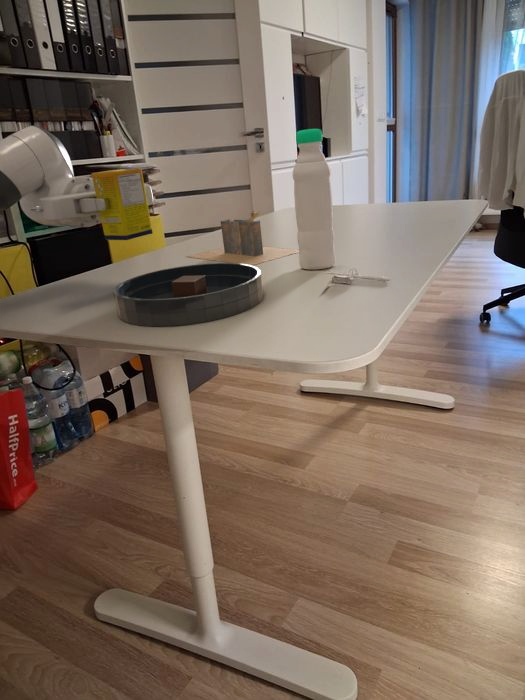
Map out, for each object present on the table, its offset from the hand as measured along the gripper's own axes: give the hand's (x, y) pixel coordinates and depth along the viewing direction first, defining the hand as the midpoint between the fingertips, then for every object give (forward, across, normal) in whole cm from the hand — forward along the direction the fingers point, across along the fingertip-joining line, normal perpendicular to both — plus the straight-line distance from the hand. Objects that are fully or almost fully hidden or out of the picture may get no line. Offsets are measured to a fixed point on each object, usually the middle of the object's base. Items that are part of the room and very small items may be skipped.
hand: (125, 200), depth 86 cm
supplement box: (-1, 0, +6) cm, 6 cm away
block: (+13, 0, +16) cm, 21 cm away
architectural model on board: (-9, +37, +17) cm, 42 cm away
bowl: (+13, 0, +17) cm, 21 cm away
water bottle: (+17, +30, +17) cm, 38 cm away
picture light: (+29, +22, +17) cm, 40 cm away
